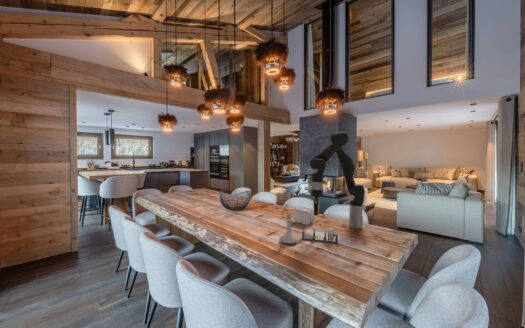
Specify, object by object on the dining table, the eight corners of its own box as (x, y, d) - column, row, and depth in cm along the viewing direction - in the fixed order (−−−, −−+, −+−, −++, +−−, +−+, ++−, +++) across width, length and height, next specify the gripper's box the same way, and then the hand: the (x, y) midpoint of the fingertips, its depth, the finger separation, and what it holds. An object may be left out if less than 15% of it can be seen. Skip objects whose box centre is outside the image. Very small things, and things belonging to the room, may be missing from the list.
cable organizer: (315, 223, 185) (316, 209, 184) (308, 226, 177) (308, 211, 177) (300, 219, 196) (300, 206, 195) (293, 222, 188) (293, 208, 188)
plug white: (333, 238, 148) (333, 228, 148) (333, 240, 144) (334, 229, 144) (327, 238, 149) (328, 227, 148) (327, 240, 145) (328, 229, 145)
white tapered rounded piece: (285, 237, 152) (285, 200, 151) (300, 241, 146) (301, 202, 145) (274, 243, 142) (275, 203, 141) (291, 248, 135) (291, 206, 134)
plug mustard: (319, 214, 154) (319, 204, 154) (318, 216, 151) (319, 205, 150) (313, 214, 155) (313, 203, 155) (313, 215, 152) (313, 205, 151)
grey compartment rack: (337, 240, 148) (337, 231, 148) (337, 243, 143) (337, 234, 142) (302, 236, 154) (303, 228, 154) (302, 239, 148) (302, 231, 148)
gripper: (322, 190, 144) (321, 217, 145) (323, 187, 158) (322, 212, 158) (310, 189, 147) (309, 216, 147) (312, 186, 160) (311, 211, 161)
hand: (316, 214), depth 153 cm, fingers closed on plug mustard, 3 cm apart
